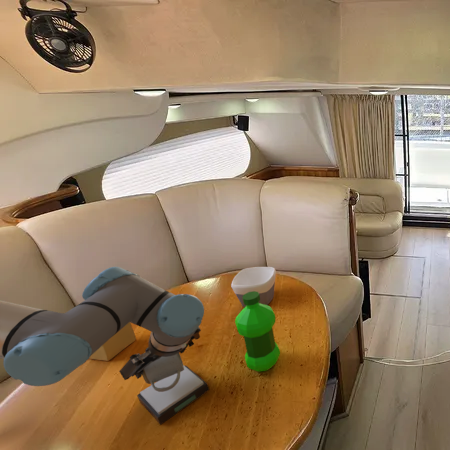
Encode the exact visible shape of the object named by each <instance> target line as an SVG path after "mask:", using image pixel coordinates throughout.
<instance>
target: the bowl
mask: <svg viewBox="0 0 450 450" xmlns="http://www.w3.org/2000/svg"><path fill="white" fill-rule="evenodd" d="M276 274H277V270H276V268H275V267H272V266H253V267H247V268H242V269H241V270H240V271H239V272H238V273H237V274H236V275H234V277H233V279H232V281H231V284H230V286H231V289H232V291H233V292H234V294H235V296H236V298H237V299H238V301H239V303H240V304H241V306H242V307H243V308H245V307H246V305H244V302H243V295H244V294H246V293H248V292H252V291H256V292H258V293H259V296H260V301H259V303H261V304H264V305H269V304H270V303H271V302H272V301H273V299H274V295H275V286H276Z"/></svg>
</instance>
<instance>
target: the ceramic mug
mask: <svg viewBox="0 0 450 450" xmlns="http://www.w3.org/2000/svg"><path fill="white" fill-rule="evenodd" d="M184 366H185V365H184V362H183V359H182V357H181V353H180V352H179V353H178V354H175V355H173V356H168V357H161V358H159V359H158V360H156V361H154V362H151V363H150V364H149V365H148V366H146V367H145V368H144V369H143V373H142V376H141V377H142V378H143V381H144V382H145V383H146V384H147V385H150V386H151V385H152V387H153V388H154V389H155V390H156V391H158V392H164V391H168V390H170V389H172V388H173V387H174V386H176V384H177V383H178V381H179V379H180V372H181V371H183V370H184ZM176 373H177V377H176V379H175V381H174V382H173V383H172V384H171V385H170V386H168V387H163V388H157V387H155V385H154V383H156V382H158V381H160V380H162V379H164V378H167V377H169V376H172V375H174V374H176Z"/></svg>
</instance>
